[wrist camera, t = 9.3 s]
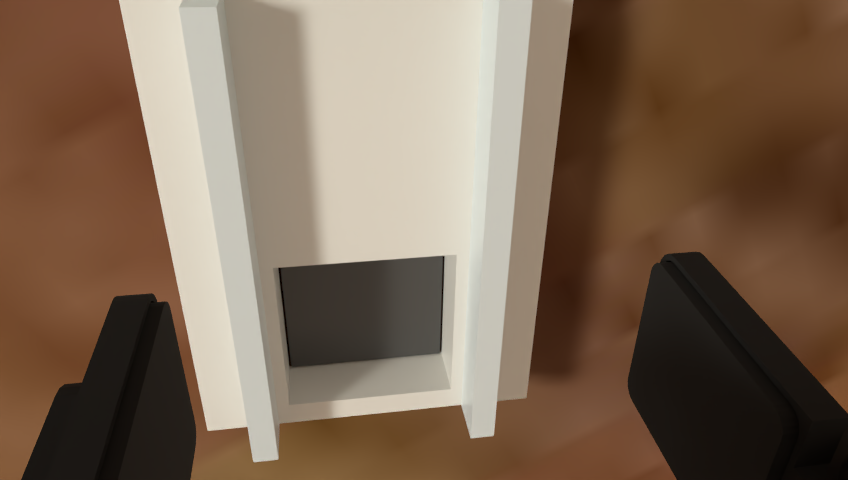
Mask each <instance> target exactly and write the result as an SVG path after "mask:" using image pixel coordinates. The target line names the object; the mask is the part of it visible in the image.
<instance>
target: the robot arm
mask: <svg viewBox="0 0 848 480" xmlns="http://www.w3.org/2000/svg"><path fill="white" fill-rule="evenodd" d="M628 389H629V394H630V397H631V399H632V401H633V403H634V405H635V406H636V408H637V410H638V412H639V413H640V415H641V417H642V419H643V421H644V422H645V424H646V426H647V428H648V429H649V431H650V433H651V435H652V436H653V438H654V440H655V442H656V443H657V445H658V447H659V449H660V451H661V452H662V454H663V456H664V458H665V459H666V461H667V463H668V465H669V466H670V468H671V470H672V472H673V473H674V475H675V477H676V479H677V480H848V413H847V412H846V411H845V410H844V409H843V408H842V407H841V406H840V405H839V404H838V402H837V401H836V400H835V399H834V398H833V397H832V396H831V395H830V394H829V393H828V391H827V390H826V389H825V388H824V387H823V386H822V385H821V384H820V383H819V382H818V380H817V379H816V378H815V377H814V376H813V375H812V374H811V373H810V372H809V371H808V369H807V368H806V367H805V366H804V365H803V364H802V363H801V362H800V361H799V360H798V358H797V357H796V356H795V355H794V354H793V353H792V352H791V351H790V350H789V349H788V347H787V346H786V345H785V344H784V343H783V342H782V341H781V340H780V339H779V338H778V336H777V335H776V334H775V333H774V332H773V331H772V330H771V329H770V328H769V327H768V325H767V324H766V323H765V322H764V321H763V320H762V319H761V318H760V317H759V316H758V314H757V313H756V312H755V311H754V310H753V309H752V308H751V307H750V306H749V305H748V303H747V302H746V301H745V300H744V299H743V298H742V297H741V296H740V295H739V294H738V292H737V291H736V290H735V289H734V288H733V287H732V286H731V285H730V284H729V283H728V281H727V280H726V279H725V278H724V277H723V276H722V275H721V274H720V273H719V272H718V270H717V269H716V268H715V267H714V266H713V265H712V264H711V263H710V262H709V261H708V259H707V258H706V257H705V256H704V255H703V254H701V253H700V252H687V253H674V254H667V255H664V257H663V258H662V259H661V262H660V263H656V264H654V266H653V267H652V270H651V275H650V279H649V284H648V288H647V293H646V298H645V302H644V307H643V312H642V316H641V321H640V325H639V330H638V335H637V339H636V344H635V349H634V353H633V358H632V363H631V367H630V372H629V376H628ZM195 446H196V426H195V420H194V415H193V411H192V406H191V402H190V397H189V392H188V388H187V383H186V379H185V374H184V369H183V365H182V360H181V356H180V351H179V346H178V342H177V337H176V333H175V328H174V323H173V319H172V314H171V310H170V306H169V304H168V302H157V300H156V297H155V296H154V294H139V295H126V296H116V297H114V299H113V301H112V303H111V306H110V309H109V311H108V314H107V317H106V320H105V322H104V325H103V328H102V330H101V333H100V336H99V338H98V341H97V344H96V347H95V349H94V352H93V355H92V357H91V360H90V363H89V365H88V368H87V371H86V374H85V376H84V379H83V382H82V383H74V384H64V385H63V386H62V387H60V388H59V390H58V392H57V394H56V396H55V398H54V400H53V403H52V405H51V408H50V410H49V413H48V415H47V418H46V420H45V423H44V425H43V427H42V430H41V432H40V435H39V437H38V440H37V442H36V445H35V447H34V450H33V452H32V454H31V457H30V459H29V462H28V464H27V467H26V469H25V472H24V474H23V477H22V479H21V480H190V478H191V472H192V465H193V459H194V452H195Z"/></svg>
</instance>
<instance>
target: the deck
mask: <svg viewBox="0 0 848 480" xmlns="http://www.w3.org/2000/svg"><path fill="white" fill-rule="evenodd" d="M119 3H120V7H121V12H122V17H123V22H124V27H125V32H126V37H127V41H128V46H129V51H130V56H131V61H132V66H133V70H134V75H135V80H136V85H137V90H138V95H139V100H140V104H141V109H142V114H143V119H144V124H145V129H146V134H147V138H148V143H149V148H150V153H151V158H152V163H153V168H154V172H155V177H156V182H157V187H158V192H159V197H160V201H161V206H162V211H163V216H164V221H165V226H166V231H167V235H168V240H169V245H170V250H171V255H172V260H173V265H174V269H175V274H176V279H177V284H178V289H179V294H180V298H181V303H182V308H183V313H184V318H185V323H186V328H187V332H188V337H189V342H190V347H191V352H192V357H193V362H194V366H195V371H196V376H197V381H198V386H199V391H200V395H201V400H202V405H203V410H204V415H205V420H206V425H207V429H208V431H211V430H221V429H231V428H240V427H248V432H249V438H250V445H251V451H252V457H253V462H260V461H269V460H278V458H279V423H289V422H298V421H308V420H318V419H327V418H337V417H347V416H356V415H366V414H376V413H386V412H395V411H405V410H415V409H424V408H434V407H444V406H453V405H462V409H463V413H464V416H465V420H466V423H467V427H468V431H469V434H470V438H478V437H487V436H494V427H495V416H496V404H497V401H502V400H511V399H521V398H526V397H527V388H528V380H529V371H530V363H531V354H532V346H533V338H534V329H535V321H536V312H537V304H538V295H539V287H540V278H541V270H542V262H543V253H544V245H545V236H546V228H547V219H548V211H549V202H550V194H551V186H552V177H553V169H554V160H555V152H556V143H557V135H558V126H559V118H560V110H561V101H562V93H563V84H564V76H565V67H566V59H567V50H568V42H569V34H570V25H571V17H572V8H573V0H119ZM443 256H444V279H443V310H442V341H441V352H440V332H441V299H442V267H443ZM278 268H281V277H282V286H283V295H284V304H285V313H286V322H287V331H288V340H289V349H290V357H291V366H289V357H288V348H287V339H286V330H285V322H284V313H283V304H282V295H281V287H280V278H279V269H278Z"/></svg>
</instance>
